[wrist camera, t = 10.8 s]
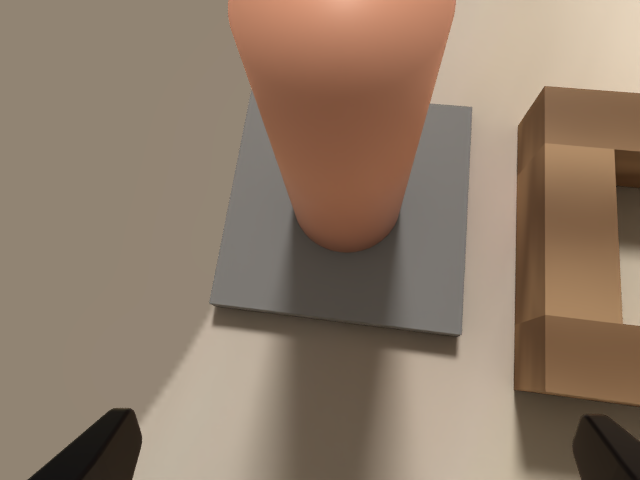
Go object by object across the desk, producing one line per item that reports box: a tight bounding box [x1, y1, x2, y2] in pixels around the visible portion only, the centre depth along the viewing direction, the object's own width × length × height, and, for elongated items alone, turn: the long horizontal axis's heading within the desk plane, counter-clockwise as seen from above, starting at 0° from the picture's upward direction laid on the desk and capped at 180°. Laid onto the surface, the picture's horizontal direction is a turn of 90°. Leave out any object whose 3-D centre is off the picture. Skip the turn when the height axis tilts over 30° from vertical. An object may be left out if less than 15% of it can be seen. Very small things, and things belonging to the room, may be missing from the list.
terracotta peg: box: [228, 0, 456, 253], centre depth 15 cm, size 4×4×11 cm
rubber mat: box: [209, 90, 472, 337], centre depth 20 cm, size 10×10×1 cm
